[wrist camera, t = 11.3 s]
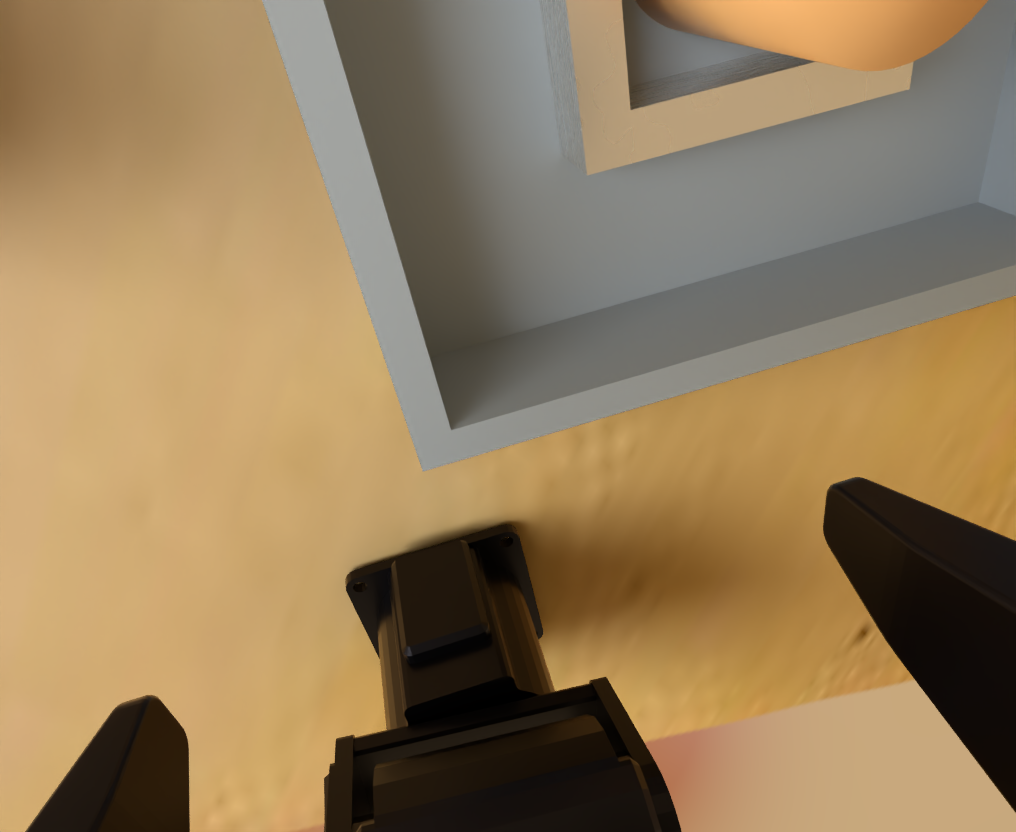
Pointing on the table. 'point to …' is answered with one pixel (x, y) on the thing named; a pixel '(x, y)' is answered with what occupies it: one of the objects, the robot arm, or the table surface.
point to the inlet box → (638, 200)
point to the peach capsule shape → (824, 26)
